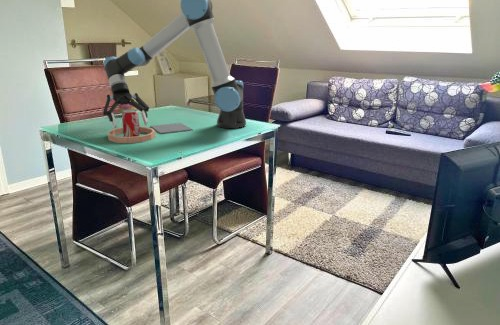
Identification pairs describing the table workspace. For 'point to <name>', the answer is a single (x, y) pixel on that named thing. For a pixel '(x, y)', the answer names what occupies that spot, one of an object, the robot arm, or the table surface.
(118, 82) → the robot arm
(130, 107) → the cupcake
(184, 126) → the rubber mat
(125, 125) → the soda can
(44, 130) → the table surface
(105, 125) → the table surface
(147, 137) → the orange-brown ring
